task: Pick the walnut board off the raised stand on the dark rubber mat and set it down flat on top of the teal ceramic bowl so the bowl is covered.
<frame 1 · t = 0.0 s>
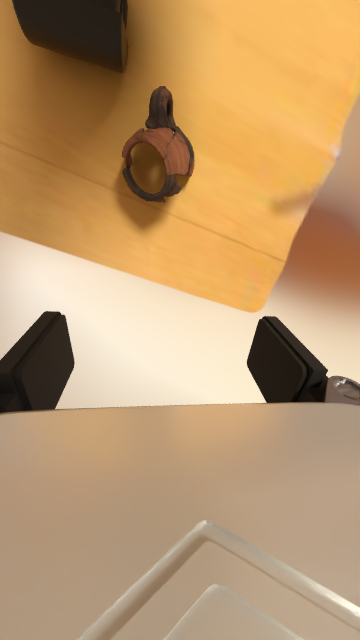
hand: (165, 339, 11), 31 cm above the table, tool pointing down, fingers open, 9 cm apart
end cap: (86, 31, 26), on the table
brown piece: (160, 155, 33), on the table
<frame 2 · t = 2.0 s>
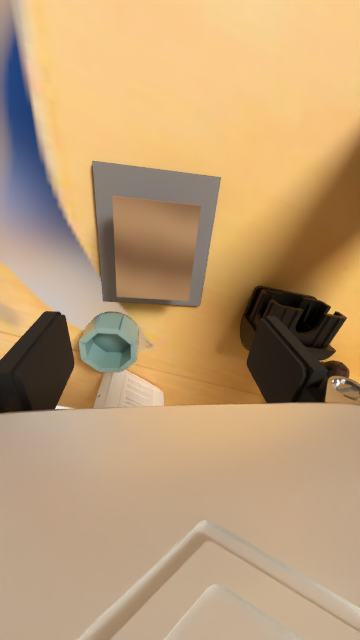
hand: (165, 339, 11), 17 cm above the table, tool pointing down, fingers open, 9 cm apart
end cap: (274, 313, 31), on the table
ceramic bowl: (114, 333, 30), on the table
brown piece: (307, 373, 38), on the table
rubber mat: (155, 244, 25), on the table
photo printer: (133, 382, 35), on the table
walnut board: (155, 251, 22), point 3 cm above the table, touching rubber mat
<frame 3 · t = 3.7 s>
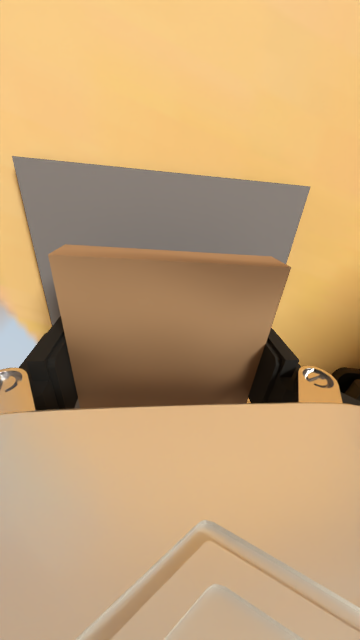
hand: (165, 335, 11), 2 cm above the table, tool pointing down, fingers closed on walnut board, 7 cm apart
end cap: (357, 400, 19), on the table
rubber mat: (164, 317, 13), on the table
walnut board: (167, 351, 10), point 3 cm above the table, touching gripper, rubber mat
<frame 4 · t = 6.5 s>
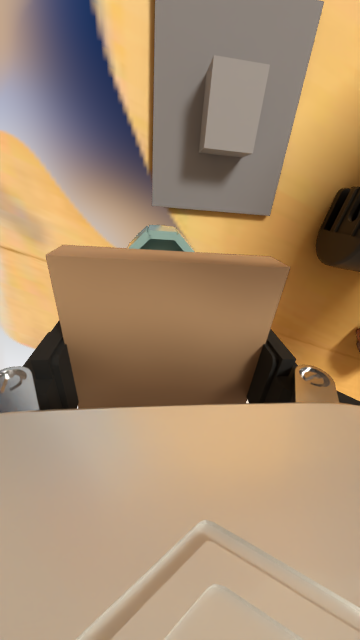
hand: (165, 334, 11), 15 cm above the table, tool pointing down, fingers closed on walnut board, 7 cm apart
end cap: (354, 232, 26), on the table
ceramic bowl: (160, 257, 25), on the table
rubber mat: (223, 120, 19), on the table
walnut board: (166, 351, 10), point 17 cm above the table, touching gripper
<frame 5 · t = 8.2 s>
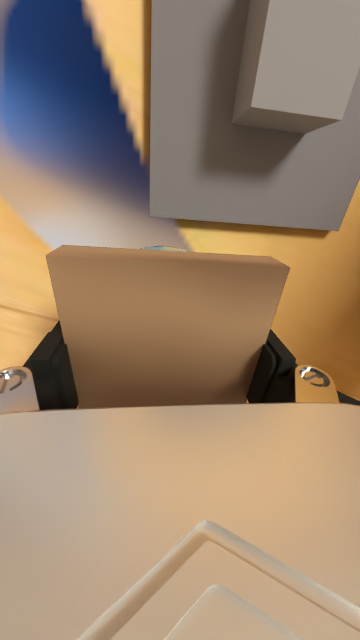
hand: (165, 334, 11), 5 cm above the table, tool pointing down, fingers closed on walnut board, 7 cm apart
rubber mat: (278, 64, 11), on the table
walnut board: (166, 351, 10), point 7 cm above the table, touching gripper
when the fingers open (5 cm above the table, at t = 9.2 s): walnut board drops 2 cm, resting on ceramic bowl.
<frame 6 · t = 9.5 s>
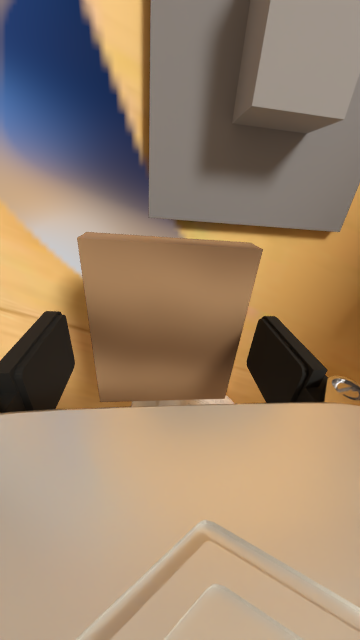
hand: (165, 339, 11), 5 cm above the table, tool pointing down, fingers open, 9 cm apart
rubber mat: (279, 63, 10), on the table
photo printer: (185, 388, 21), on the table
walnut board: (167, 323, 12), point 4 cm above the table, touching ceramic bowl
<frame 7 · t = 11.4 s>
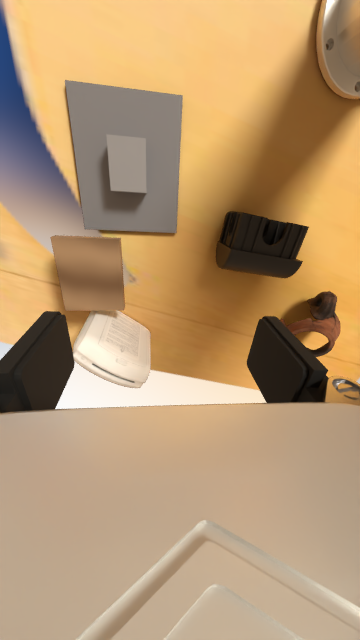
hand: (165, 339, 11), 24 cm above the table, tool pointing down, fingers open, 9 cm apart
end cap: (247, 242, 34), on the table
brown piece: (302, 313, 41), on the table
rubber mat: (129, 168, 27), on the table
photo printer: (121, 323, 37), on the table
walnut board: (93, 273, 29), point 4 cm above the table, touching ceramic bowl
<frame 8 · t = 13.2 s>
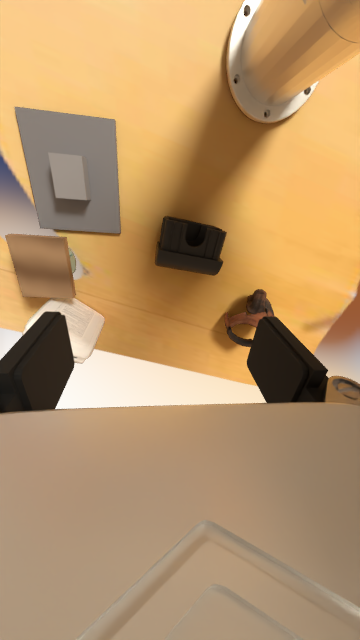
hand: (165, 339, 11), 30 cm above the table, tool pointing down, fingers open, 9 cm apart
end cap: (186, 243, 39), on the table
brown piece: (246, 308, 46), on the table
rubber mat: (75, 178, 32), on the table
photo printer: (79, 310, 43), on the table
walnut board: (45, 266, 34), point 4 cm above the table, touching ceramic bowl
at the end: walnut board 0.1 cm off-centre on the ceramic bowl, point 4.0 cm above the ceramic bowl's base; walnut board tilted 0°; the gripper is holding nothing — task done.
